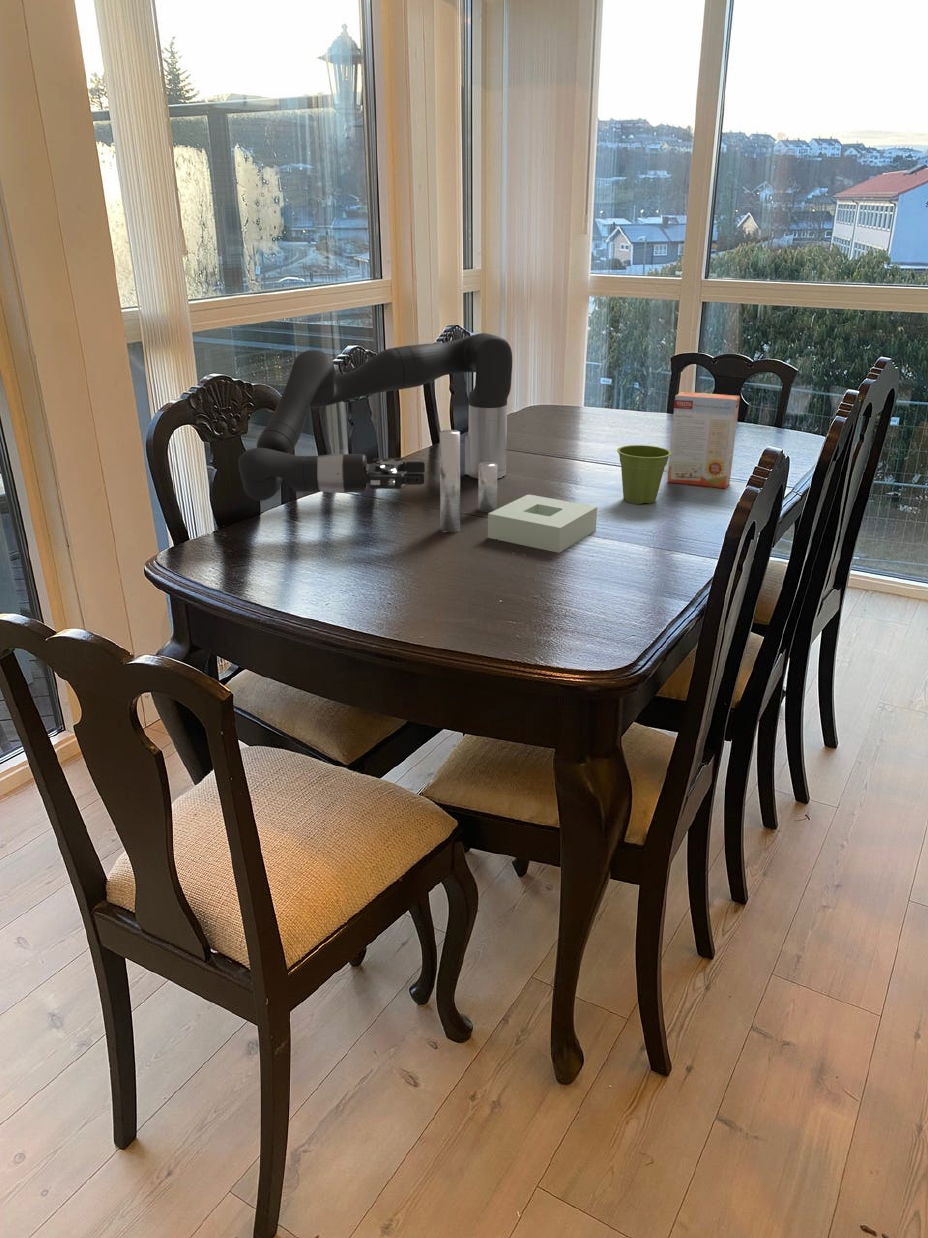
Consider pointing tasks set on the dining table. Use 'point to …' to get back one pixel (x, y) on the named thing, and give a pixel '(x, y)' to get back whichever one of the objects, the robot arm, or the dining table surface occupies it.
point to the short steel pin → (487, 487)
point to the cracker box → (703, 439)
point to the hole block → (542, 522)
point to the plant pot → (642, 472)
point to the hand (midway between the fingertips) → (424, 472)
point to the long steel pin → (450, 480)
